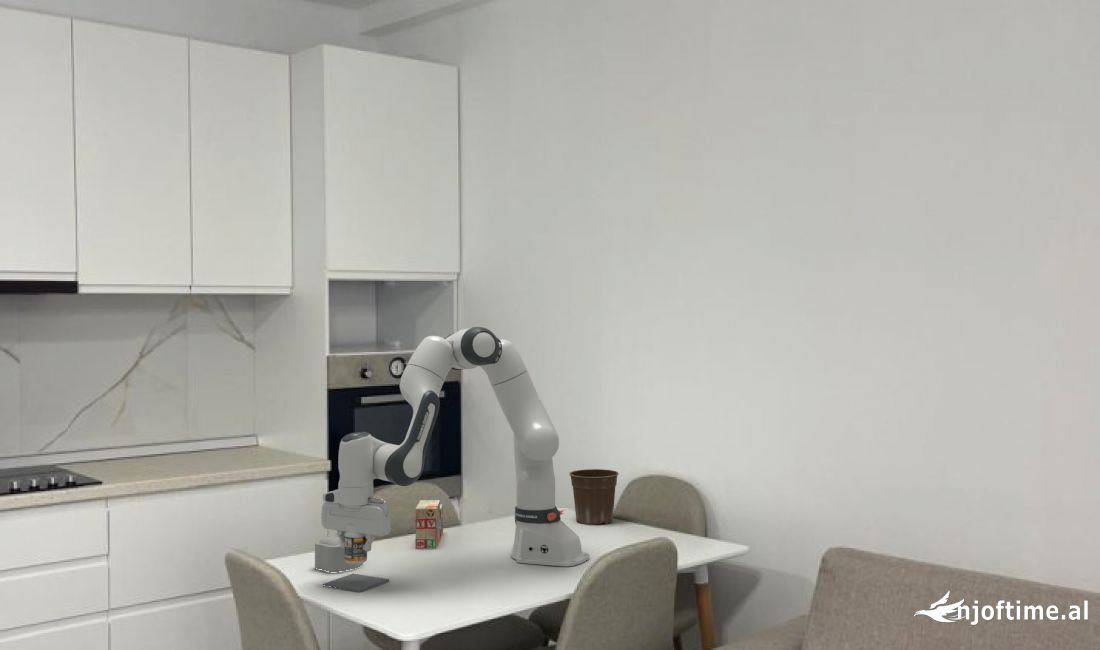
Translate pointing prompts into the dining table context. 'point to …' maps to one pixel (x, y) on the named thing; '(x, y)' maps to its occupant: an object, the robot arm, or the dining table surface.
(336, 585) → the coaster
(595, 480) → the plant pot
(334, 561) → the lumpy-topped squat cylinder
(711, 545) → the dining table surface
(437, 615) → the dining table surface
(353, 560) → the pill bottle
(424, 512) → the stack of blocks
